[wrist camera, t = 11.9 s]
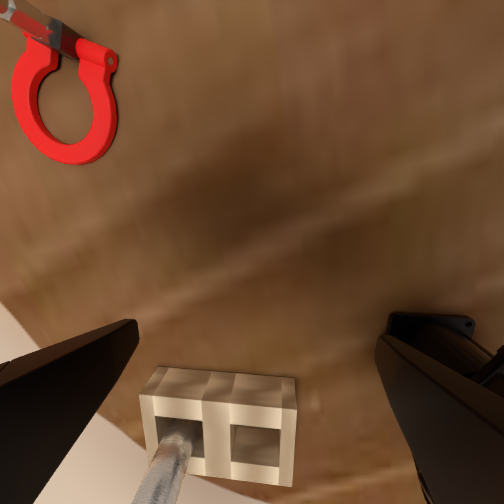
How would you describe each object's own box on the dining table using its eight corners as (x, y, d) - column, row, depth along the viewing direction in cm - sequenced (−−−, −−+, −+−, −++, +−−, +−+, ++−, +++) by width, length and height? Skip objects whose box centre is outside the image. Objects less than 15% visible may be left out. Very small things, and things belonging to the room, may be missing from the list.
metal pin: (206, 394, 25) (161, 522, 15) (207, 416, 26) (165, 553, 16) (178, 391, 25) (117, 516, 15) (180, 413, 26) (123, 546, 16)
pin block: (294, 378, 23) (296, 410, 20) (289, 447, 25) (291, 486, 22) (158, 366, 25) (139, 394, 21) (165, 433, 27) (149, 468, 23)
